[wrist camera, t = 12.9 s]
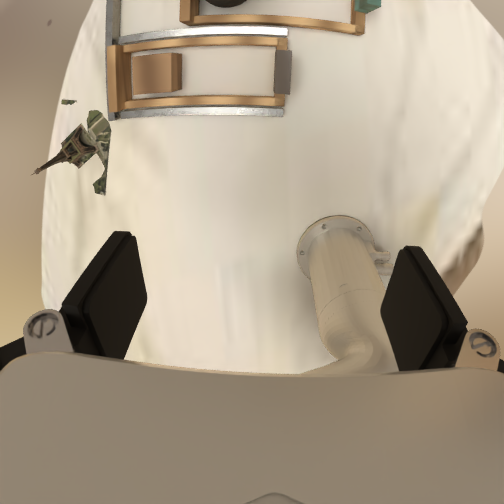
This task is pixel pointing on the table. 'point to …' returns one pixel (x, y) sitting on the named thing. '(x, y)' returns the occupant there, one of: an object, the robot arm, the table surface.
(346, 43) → the table surface
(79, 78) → the table surface
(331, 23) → the brown low piece
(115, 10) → the lane frame
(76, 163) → the eiffel tower figurine
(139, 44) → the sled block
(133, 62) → the walnut block
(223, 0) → the travel mug
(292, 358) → the table surface
